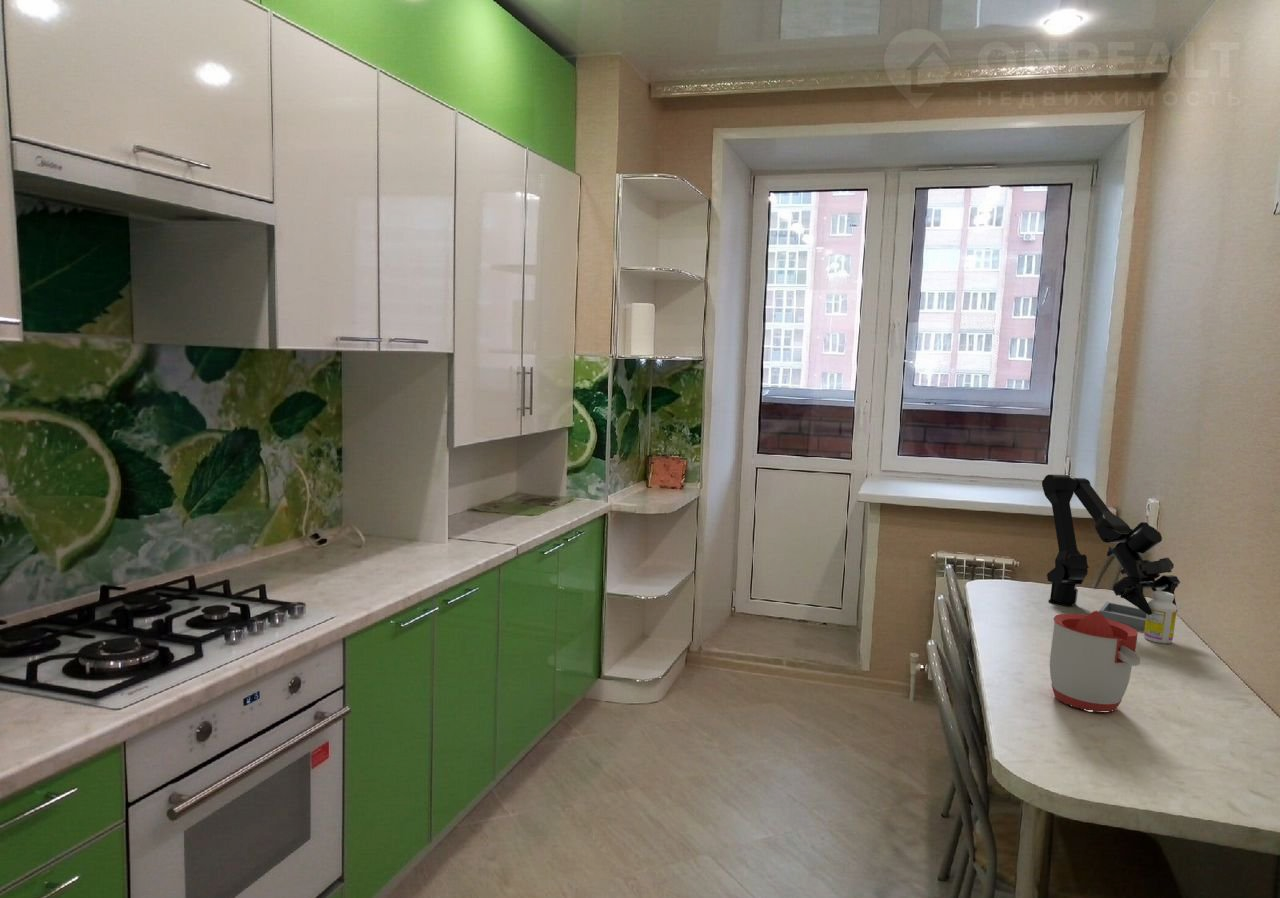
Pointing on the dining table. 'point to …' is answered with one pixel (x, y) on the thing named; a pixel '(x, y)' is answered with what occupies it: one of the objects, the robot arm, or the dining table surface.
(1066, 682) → the citrus juicer
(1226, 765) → the dining table surface
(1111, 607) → the tray
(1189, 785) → the dining table surface
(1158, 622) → the supplement bottle
